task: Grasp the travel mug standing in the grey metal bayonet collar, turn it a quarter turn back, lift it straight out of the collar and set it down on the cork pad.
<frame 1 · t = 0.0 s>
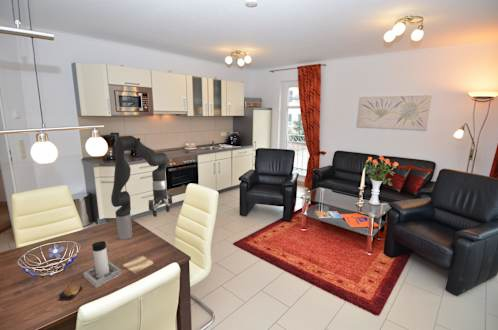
hand: (161, 214, 149), 29 cm above the table, fingers open, 8 cm apart
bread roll: (71, 294, 126), on the table
travel mug: (103, 276, 139), resting in collar
collar: (103, 275, 139), on the table
cork pad: (138, 264, 149), on the table
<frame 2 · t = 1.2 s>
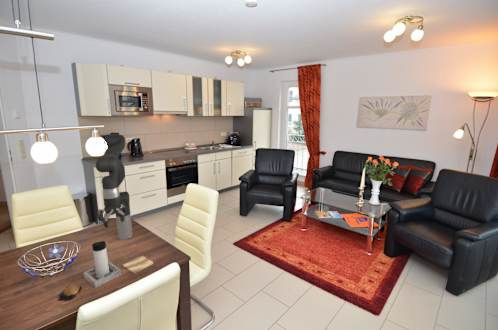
hand: (114, 224, 136), 29 cm above the table, fingers open, 8 cm apart
nothing on the table moved.
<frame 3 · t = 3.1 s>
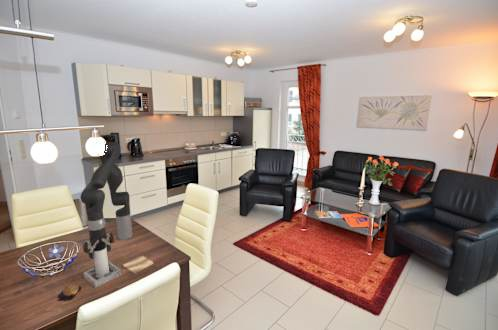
hand: (100, 254, 136), 13 cm above the table, fingers open, 8 cm apart
nothing on the table moved.
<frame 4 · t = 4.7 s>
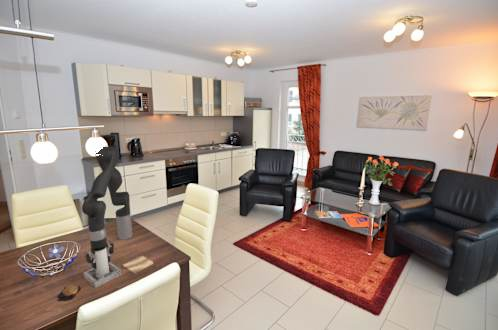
hand: (101, 264, 137), 7 cm above the table, fingers closed on travel mug, 6 cm apart
travel mug: (103, 276, 139), resting in collar, touching gripper
everything else where it was.
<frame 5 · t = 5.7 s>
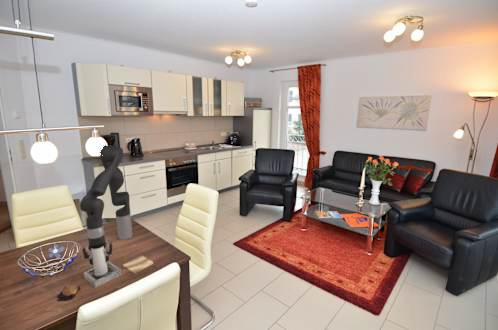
hand: (99, 262, 137), 8 cm above the table, fingers closed on travel mug, 6 cm apart
travel mug: (101, 273, 139), point 1 cm above the table, touching gripper
everything else where it was.
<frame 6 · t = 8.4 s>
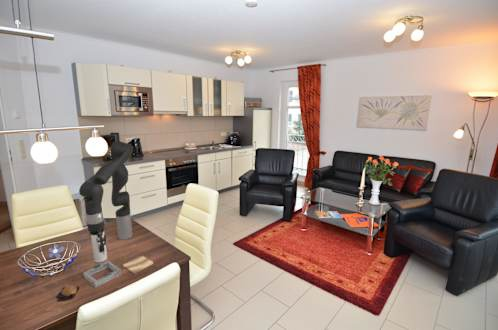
hand: (99, 249, 135), 16 cm above the table, fingers closed on travel mug, 6 cm apart
travel mug: (100, 260, 137), point 9 cm above the table, touching gripper
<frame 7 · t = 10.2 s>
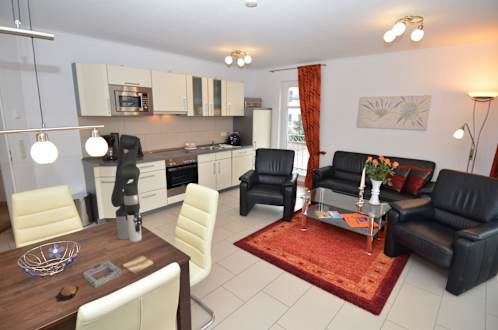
hand: (134, 229, 144), 22 cm above the table, fingers closed on travel mug, 6 cm apart
travel mug: (135, 240, 145), point 16 cm above the table, touching gripper
when the fingers open (9 cm above the table, at t = 13.6 s): travel mug drops 1 cm, resting on cork pad.
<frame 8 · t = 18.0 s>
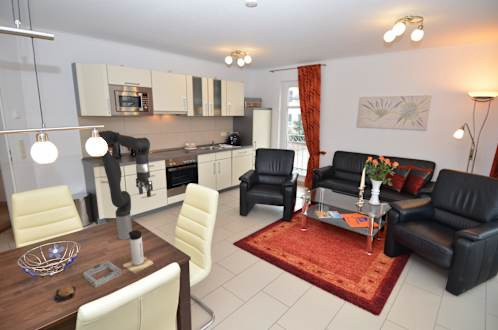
hand: (145, 195, 160), 36 cm above the table, fingers open, 8 cm apart
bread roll: (65, 295, 125), on the table
travel mug: (138, 263, 149), point 1 cm above the table, touching cork pad
at the end: travel mug inside the target area on the cork pad (0.2 cm from its centre), point 0.8 cm above the cork pad's base; travel mug tilted 0°; the gripper is holding nothing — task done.
